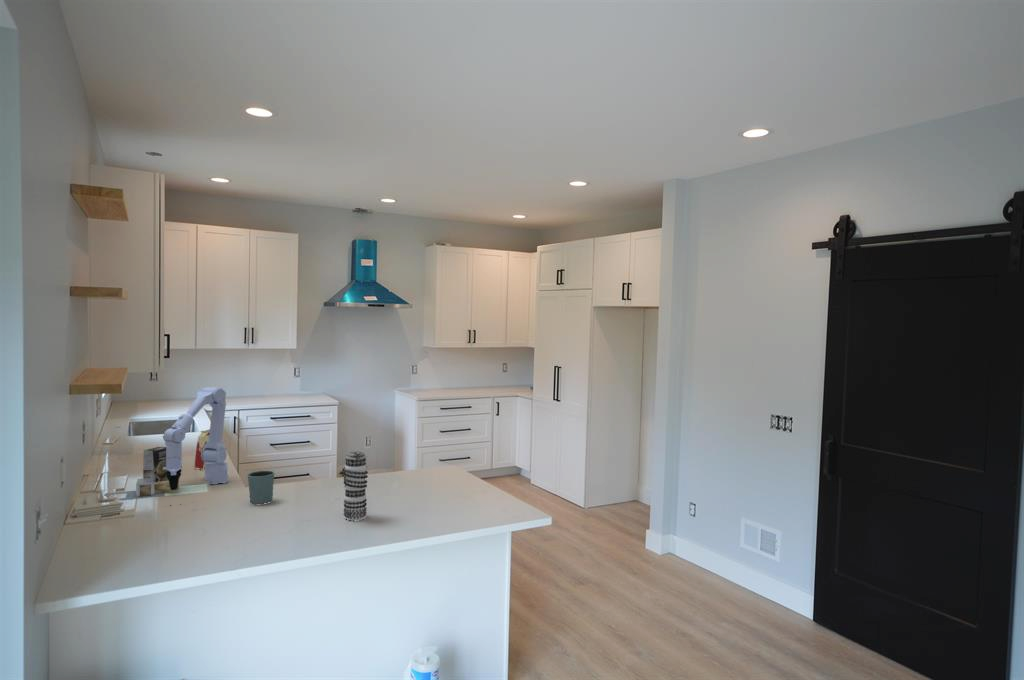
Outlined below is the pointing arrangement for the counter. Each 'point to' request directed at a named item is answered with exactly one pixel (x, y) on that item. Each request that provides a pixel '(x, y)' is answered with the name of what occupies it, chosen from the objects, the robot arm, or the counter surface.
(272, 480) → the green cup
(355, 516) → the striped cylindrical tower
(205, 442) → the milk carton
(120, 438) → the counter surface
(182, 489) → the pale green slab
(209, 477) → the robot arm
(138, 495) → the tunnel
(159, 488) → the oak bar
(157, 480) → the coffee box
